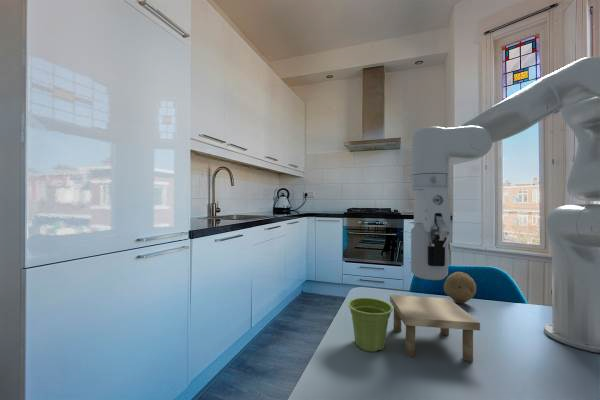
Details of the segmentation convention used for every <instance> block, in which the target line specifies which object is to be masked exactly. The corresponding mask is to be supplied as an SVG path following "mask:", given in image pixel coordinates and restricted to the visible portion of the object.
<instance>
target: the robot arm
mask: <svg viewBox="0 0 600 400" xmlns="http://www.w3.org/2000/svg"><path fill="white" fill-rule="evenodd" d="M560 110H561V117H562V119H563V121H564V122H565V124H566V125H567V126H568V127H569V128H570V130H571V131H572V132H573V134H574V136H575V138H576V140H577V149H576V153H575V156H574V159H573V162H572V165H571V169H570V171H569V175H568V178H567V183H566V190H567V193H568V195H570V197H572V198H573V199H576V200H579V201H583V202H584V201H585V202H600V56H587V57H583V58H580V59H578V60H576V61H573V62H571V63H570V64H569V63H568V64H567V65H565V66H564V67H561V68H560V69H558V70H555V71H554V72H551V73H549V74H547V75H545V76H543V77H541V78H539V79H538V80H536V81H534V82H533V83H531V84H529V85H527V86H526V87H524V88H522V89H521V90H519V91H517V92H515V93H514V94H511V95H510V96H508V97H506V98H505V99H504V100H502V101H500V102H498V103H496V104H495V105H492V106H491V107H490V108H488V109H487V110H485V111H483V112H482V113H479V114H478V115H477V116H475V117H473V118H471V119H469V120H468V121H466V122H465V123H463V124H461V125H459V126H458V127H447V128H446V127H442V126H426V127H423V128H419V129H417V130H416V131H414V133H413V135H412V138H411V139H412V141H411V142H412V145H411V147H412V148H411V151H412V152H411V154H412V155H411V190H412V191H415V193H414V205H413V206H414V207H413V227H414V226H415V224H414V223H417V224H422V227H423V229H424V231H425V233H426V234H428V235H429V243H430V246H428V265H429V266H445V247H446V243H445V241H446V239H447V237H446V235H448V236H449V235H450V233H451V231H452V224H451V223H452V221H451V206H450V205H451V203H450V196H449V190H450V189H449V188H450V187H449V186H450V183H449V181H450V176H449V175H450V173H449V172H450V166H454V165H460V164H462V163H467V162H471V161H475V160H476V161H477V160H478V159H480V158H483V157H484V156H486V154H488V153H489V152H490V151H491V149H492V147H493V144H494V143H496V142H500V141H503V140H506V139H508V138H511V137H513V136H515V135H518V134H520V133H523V132H524V131H526V130H528V129H529V128H531V127H533V126H535V125H536V124H538V123H539V122H541V121H543V120H545V119H546V118H548V117H550V116H551V115H553V114H555V113H557V112H558V111H560ZM545 227H546V232H547V236H548V239H549V242H550V243H549V244H550V251H551V297H552V298H551V302H552V303H551V307H552V308H551V309H552V310H551V311H552V312H551V314H552V315H551V316H552V317H551V318H552V319H551V321H552V323H546V324H545V325H543V332H544V333H545V335H547V336H548V337H550V338H551V339H553V340H556V341H557V342H559V343H562V344H565V345H567V346H570V347H573V348H576V349H579V350H584V351H587V352H591V353H596V354H597V353H598V354H600V204H599V203H583V204H582V203H575V204H566V205H561V206H558V207H556V208H554V209H553V210H551V211H550V212H549V213H548V215H547V217H546V220H545ZM431 229H438V232H432V231H431ZM433 236H435V238H434V239H433Z"/></svg>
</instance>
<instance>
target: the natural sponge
mask: <svg viewBox="0 0 600 400" xmlns="http://www.w3.org/2000/svg"><path fill="white" fill-rule="evenodd" d="M443 291H444V294H446V295H447V296H448V297H449V298H451V299H452V301H453V302H455V303H458V304H464V303H467V302H468V301H470V300H471V299H473V298H474V297H475V295H476V293H477V284H476V282H475V280H474V279H473V278H472V277H471V276H470V275H469V274H468V273H465V272H462V271H455V272H453V273H451V274H448V275H447V277H446V279H445V282H444V283H443Z"/></svg>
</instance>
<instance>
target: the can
mask: <svg viewBox="0 0 600 400" xmlns="http://www.w3.org/2000/svg"><path fill="white" fill-rule="evenodd" d="M414 224H415V226H414ZM410 231H411V232H410V233H411V234H410V272H411V273H412V274H413V275H414V276H415V277H417V278H419V279H424V280H431V281H440V280H441V281H442V280H444V279H445V278H447V277H448V276H449V234H448V235H446V237H447V239H446V241H445V243H446V247H445V266H429V265H428V246H430V243H429V235H428V234H426V233H425V231H424V229H423V227H422V224H417V223H414V222H413V227H412V228H411V229H410ZM431 231H432V232H438V229H431ZM434 238H435V236H433V239H434Z"/></svg>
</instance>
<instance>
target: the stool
mask: <svg viewBox="0 0 600 400" xmlns="http://www.w3.org/2000/svg"><path fill="white" fill-rule="evenodd" d="M389 302H390V305H391V306H392V307H393V324H392V325H393V329H392V330H393V331H394V332H397V333H401V332H402V323H403V324H404V326H405V356H407V357H409V358H416V327H420V328H421V327H423V328H424V327H425V328H437V329H439V328H440V334H441V335H442V336H449V335H450V330H452V329H453V330H462V347H461V349H462V351H461V352H462V360H463V361H465V362H468V363H473V362H474V331H481V329H480V328H481V322H480V321H479V320H477V319H476V318H475V317H473V316H472V315H470V314H469V313H468V312H467V311H466V310H465V309H464V308H462V307H460V305H458V304H456V302H455V301H454V300H451V299H450V297H448V298H447V297H431V296H430V297H429V296H416V295H415V296H414V295H413V296H412V295H410V296H409V295H393V294H390V295H389Z"/></svg>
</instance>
